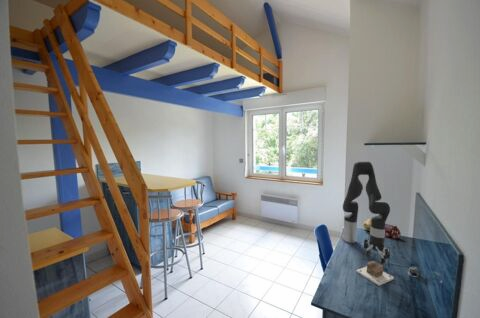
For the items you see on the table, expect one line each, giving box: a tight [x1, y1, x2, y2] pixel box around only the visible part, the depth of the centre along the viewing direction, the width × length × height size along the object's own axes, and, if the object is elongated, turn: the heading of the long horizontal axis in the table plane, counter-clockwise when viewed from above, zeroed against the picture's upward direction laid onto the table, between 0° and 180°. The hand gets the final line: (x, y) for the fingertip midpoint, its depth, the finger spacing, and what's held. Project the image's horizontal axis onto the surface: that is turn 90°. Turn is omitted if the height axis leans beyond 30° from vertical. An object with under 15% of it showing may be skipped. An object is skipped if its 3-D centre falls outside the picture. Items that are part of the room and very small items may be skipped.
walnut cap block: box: [366, 260, 384, 278], centre depth 129 cm, size 6×6×6 cm
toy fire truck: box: [385, 223, 402, 240], centre depth 182 cm, size 7×12×10 cm, turn 47°
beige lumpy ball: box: [362, 218, 372, 232], centre depth 194 cm, size 10×12×11 cm
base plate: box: [356, 265, 395, 287], centre depth 129 cm, size 14×14×3 cm
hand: (375, 259), depth 129 cm, fingers open, 8 cm apart
